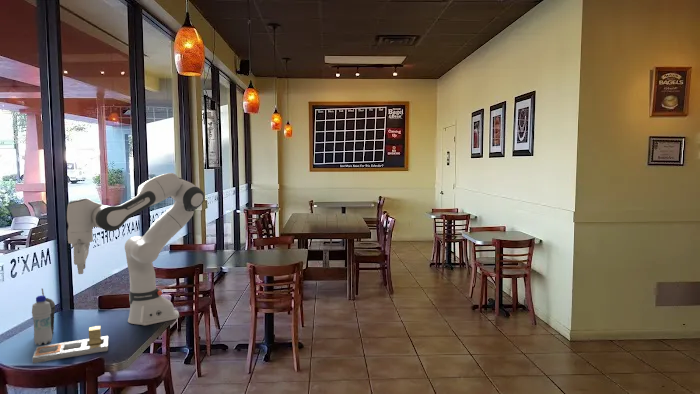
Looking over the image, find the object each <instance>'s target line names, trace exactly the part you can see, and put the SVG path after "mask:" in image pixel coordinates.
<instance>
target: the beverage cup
mask: <svg viewBox="0 0 700 394" xmlns="http://www.w3.org/2000/svg"><path fill="white" fill-rule="evenodd" d="M41 294H42V295H41V296H45V293H44V288H41ZM46 301H47V302H49V303H50V307H51V314H50V317H51V330H52V334H54V330H55V329H54V328H55V311H56V304H55V301H54V300H53V299H51V298H49V297H46Z"/></svg>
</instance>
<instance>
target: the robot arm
mask: <svg viewBox="0 0 700 394" xmlns="http://www.w3.org/2000/svg"><path fill="white" fill-rule="evenodd" d="M136 193H137V195H136V196H134V197H133V198H131V199H129V200H127V201H125V202H124V203H122V204H120V205H119V204H118V205H111V206H110V205H106V204H102V203H98V202H95V201H94V200H91V199H90V198H88V197H81V198H74V199H71V201H69V202H68V204H67V209H66V210H67V211H66V223H67V225H68V227H67V241H68V242H67V243H68V244H71V248H73V265H75V266H76V268H77V273H78V275H83V274H84V270H86V261H87V259H88V256H89V251H90V245H91V244H90V243H92V242H93V241H94V237H93V235H94V234H93V228H96V227H97V228H99V229H101V230H104V231H106V232H115V231H117V230H119V229H120V228H121V227H123V225H124V224H125V223H126V222H127V221H128V220H129V219H130V218H131V217H133V216H135V215H137V214H138V213H140V212H143V211H144V210H145V209H147V208H150V207H152V206H154V205H156V204H158V203H161V202H163V201H165V200H166V199H169V198H171V199H173V200H174V203H173V204H172V206H171V207H170V208H168V209H167V210H166V211H164V212H163V213H162V214H161V215H160V216H159V217H158V218H157V219H155V221H154V222H152V223H151V226H150V227H149V228H148V230H147V231H146V232H145V233H144V235H142V236H141V235H136V236H132V237H130V238H128V239H127V240H126V242H125V243H124V251H125V256H126V263H127V269H128V274H129V293H128V296H129V299H128V300H129V305H130V307H129V313H128V319H127V322H128V323H129V324H132V325H133V324H134V325H141V326H149V325H153V324H154V325H155V324H157V323H164V322H167V321H169V322H170V321H173V320H177V319H179V317H180V312H179V311H178V310H177V309H176V308H175V307H174V304H173V302H171V300H170V299H167V297H164V296H163V292H162V290H161V289H160V288H157V285H156V271H155V267H154V264H153V262H155V261H156V260H157V259H158V257H159V254H160V253H161V251H162V250H163V249H164V247H165V246H166V245H167V244H168V243H169V241H170V240H171V239H172V238H173V237H174V236H175V235H177V233H178V232H179V231H181V230H182V229H183V228H184V227H185V226H186V224H187V223H188V222H189V221H190V220H191V219H192V217H193V216H194V213H195V212H194V211H196V210H197V209H198V208H199V207H201V206H202V204H203V202H204V200H205V193H204V191H203V190H202V188H200V187H198V186H196V185H195V184H194V183H192V182H190V181H188V180H185V179H184V178H181V177H179V176H178V175H177V174H175V173H173V172H167V173H163V174H160V175H158V176H154V177H153V178H150V179H148V180H146V181H145V182H143V183H141V184H140V185H139V186H138V188H137V191H136Z"/></svg>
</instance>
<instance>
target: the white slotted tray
mask: <svg viewBox="0 0 700 394" xmlns="http://www.w3.org/2000/svg"><path fill="white" fill-rule="evenodd" d="M108 351H109V335H104V336H101V344H99V345H93V346H90V345H89V338H85V339H78V340H72V341H64V342H59V343H58V342H57V343H51V344H44V345H37V346H36V349H35V351H34V353H33V356H32V364H37V363H42V362H43V363H44V362H47V361H54V360H60V359H66V358H73V357H78V356H84V355H90V354H96V353H100V352H101V353H103V352H108Z"/></svg>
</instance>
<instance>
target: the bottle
mask: <svg viewBox="0 0 700 394" xmlns="http://www.w3.org/2000/svg"><path fill="white" fill-rule="evenodd" d="M46 298H47V297H46V295H44V296H43V295H38V296H36V298H35V303H33V304H32V306H31V316H32V319H33V340H34V345H36V346H43V345H42V344H44V345H48V344H50V343H51V342H52V340H53V333H52V330H51V317H50V314H51V307H50V303H49V302H47V301H46Z"/></svg>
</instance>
